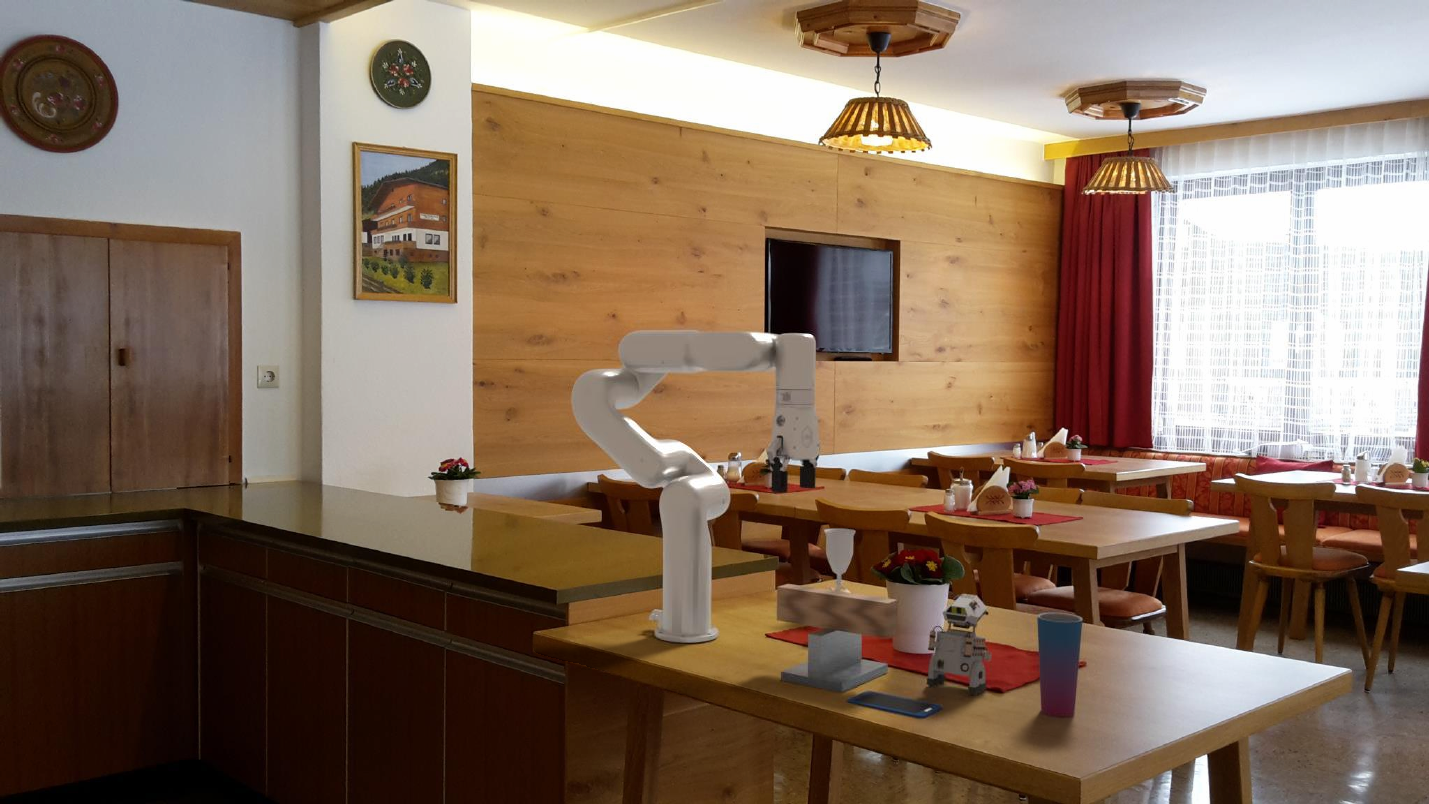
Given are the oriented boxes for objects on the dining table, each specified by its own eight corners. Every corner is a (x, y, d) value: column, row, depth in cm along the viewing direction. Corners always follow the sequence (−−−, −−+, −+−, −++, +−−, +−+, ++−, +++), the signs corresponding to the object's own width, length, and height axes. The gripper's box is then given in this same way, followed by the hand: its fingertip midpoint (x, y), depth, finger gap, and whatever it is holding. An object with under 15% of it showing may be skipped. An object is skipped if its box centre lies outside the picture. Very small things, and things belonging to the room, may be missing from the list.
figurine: (1002, 684, 199) (1004, 597, 198) (969, 699, 190) (971, 607, 189) (954, 674, 204) (955, 589, 204) (920, 688, 196) (922, 599, 195)
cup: (1028, 705, 186) (1030, 612, 186) (1070, 705, 187) (1072, 612, 186) (1044, 719, 180) (1046, 622, 179) (1087, 718, 180) (1089, 621, 180)
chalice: (856, 617, 249) (857, 533, 248) (824, 617, 249) (825, 533, 248) (852, 610, 256) (853, 528, 256) (821, 609, 256) (822, 528, 256)
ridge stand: (780, 680, 200) (781, 630, 199) (828, 661, 213) (829, 615, 212) (841, 692, 193) (842, 641, 192) (887, 672, 205) (888, 624, 205)
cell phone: (922, 721, 179) (922, 716, 179) (844, 704, 187) (844, 700, 187) (944, 710, 185) (944, 705, 185) (867, 694, 193) (867, 689, 193)
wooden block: (897, 635, 197) (897, 599, 197) (887, 639, 194) (887, 603, 194) (787, 616, 210) (787, 583, 210) (776, 620, 207) (777, 586, 207)
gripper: (786, 400, 210) (785, 495, 211) (835, 398, 224) (834, 487, 224) (752, 399, 214) (751, 492, 215) (802, 397, 228) (801, 485, 229)
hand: (793, 490), depth 220 cm, fingers open, 9 cm apart
